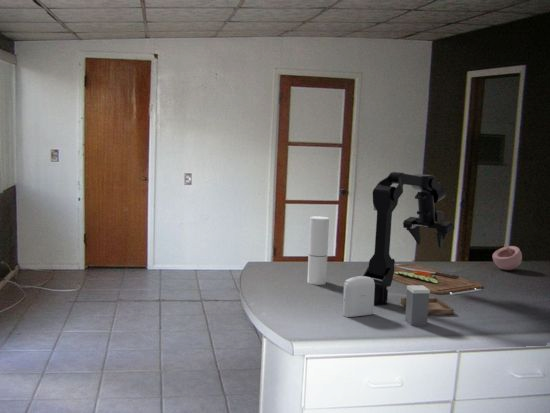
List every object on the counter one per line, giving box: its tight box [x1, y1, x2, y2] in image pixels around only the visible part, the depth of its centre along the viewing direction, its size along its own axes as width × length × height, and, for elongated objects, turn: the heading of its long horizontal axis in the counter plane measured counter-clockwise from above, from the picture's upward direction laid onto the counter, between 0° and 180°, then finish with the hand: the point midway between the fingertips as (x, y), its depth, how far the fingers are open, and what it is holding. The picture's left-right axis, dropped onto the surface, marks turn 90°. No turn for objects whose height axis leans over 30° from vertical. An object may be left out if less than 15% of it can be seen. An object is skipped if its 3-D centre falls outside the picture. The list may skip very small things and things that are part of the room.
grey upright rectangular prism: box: [404, 285, 431, 327], centre depth 169 cm, size 5×5×11 cm
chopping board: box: [392, 263, 483, 296], centre depth 225 cm, size 45×27×3 cm, turn 30°
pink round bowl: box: [492, 244, 523, 271], centre depth 245 cm, size 12×12×11 cm
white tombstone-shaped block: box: [342, 275, 375, 318], centre depth 175 cm, size 10×4×12 cm, turn 114°
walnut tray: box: [400, 297, 455, 316], centre depth 184 cm, size 13×13×2 cm
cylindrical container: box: [306, 215, 330, 286], centre depth 212 cm, size 7×7×25 cm
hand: (429, 246), depth 211 cm, fingers open, 9 cm apart
